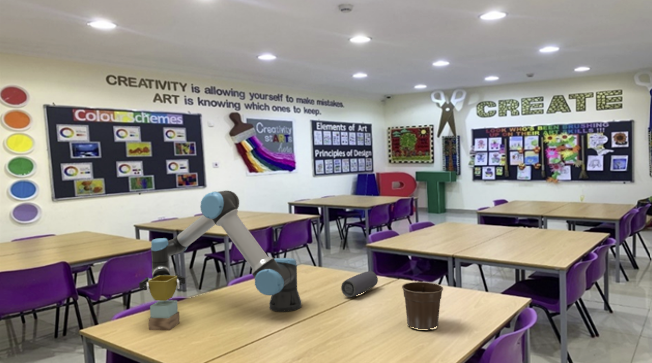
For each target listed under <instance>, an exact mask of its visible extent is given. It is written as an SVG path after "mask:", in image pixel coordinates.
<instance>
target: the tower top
mask: <svg viewBox="0 0 652 363" xmlns="http://www.w3.org/2000/svg"><path fill="white" fill-rule="evenodd" d="M178 308H179V307H178V300H172V299H171V300H170V299H168V300H166V301H160V300H157V301H156V302H155V303H153V304H151V305H149V309H150V310H149V312H150V314H149V315H150V317H151V318H170V317H171V316H173V315H174V314H176V313H177V312H179V311H178ZM150 317H149V318H150Z"/></svg>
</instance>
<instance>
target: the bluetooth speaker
mask: <svg viewBox="0 0 652 363" xmlns="http://www.w3.org/2000/svg"><path fill="white" fill-rule="evenodd" d="M378 282H379V278H378V275H377V274H376V273H375V271H373V270H370V271H369V270H368V271H364V272H362V273H358V274H356V275H354V276H352V277H349V278H347V279H345V280H344V281H343V282H342V283H341V286H340V287H341V288H340V290H341V292H342V294H343V296H345V297H348V298H351V297H356V295H358V294H361V293H363V292H365V291H367V292H368V291H369V290H371V289H372V288H374V287H375V286H376V285H377V284H378Z"/></svg>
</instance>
